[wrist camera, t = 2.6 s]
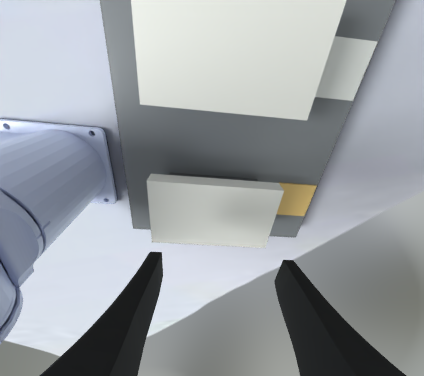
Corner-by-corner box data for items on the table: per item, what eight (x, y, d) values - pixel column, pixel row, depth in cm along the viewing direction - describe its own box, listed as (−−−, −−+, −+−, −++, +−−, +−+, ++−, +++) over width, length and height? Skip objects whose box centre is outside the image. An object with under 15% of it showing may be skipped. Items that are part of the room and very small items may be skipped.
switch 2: (155, 232, 18) (151, 242, 16) (150, 173, 15) (146, 180, 14) (261, 238, 18) (265, 247, 17) (278, 182, 15) (284, 190, 14)
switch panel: (138, 216, 22) (131, 231, 20) (46, -547, 6) (-39, -873, 4) (289, 225, 23) (297, 240, 21) (528, -399, 8) (659, -593, 5)
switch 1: (145, 102, 12) (139, 104, 11) (135, -35, 9) (126, -50, 8) (298, 117, 13) (307, 120, 12) (336, -7, 10) (351, -17, 9)
